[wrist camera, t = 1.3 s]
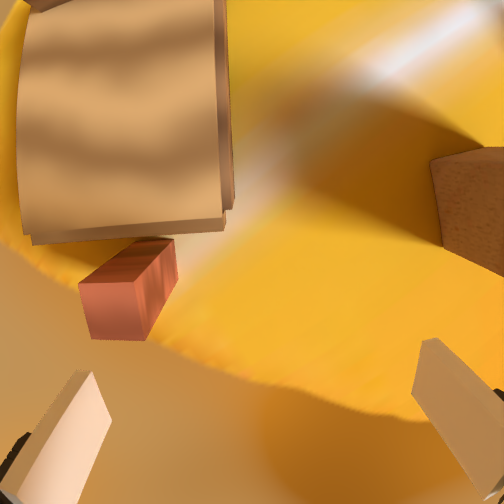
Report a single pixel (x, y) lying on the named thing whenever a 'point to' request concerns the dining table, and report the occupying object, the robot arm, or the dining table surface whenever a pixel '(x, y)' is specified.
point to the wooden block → (472, 205)
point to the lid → (118, 120)
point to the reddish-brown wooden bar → (129, 291)
